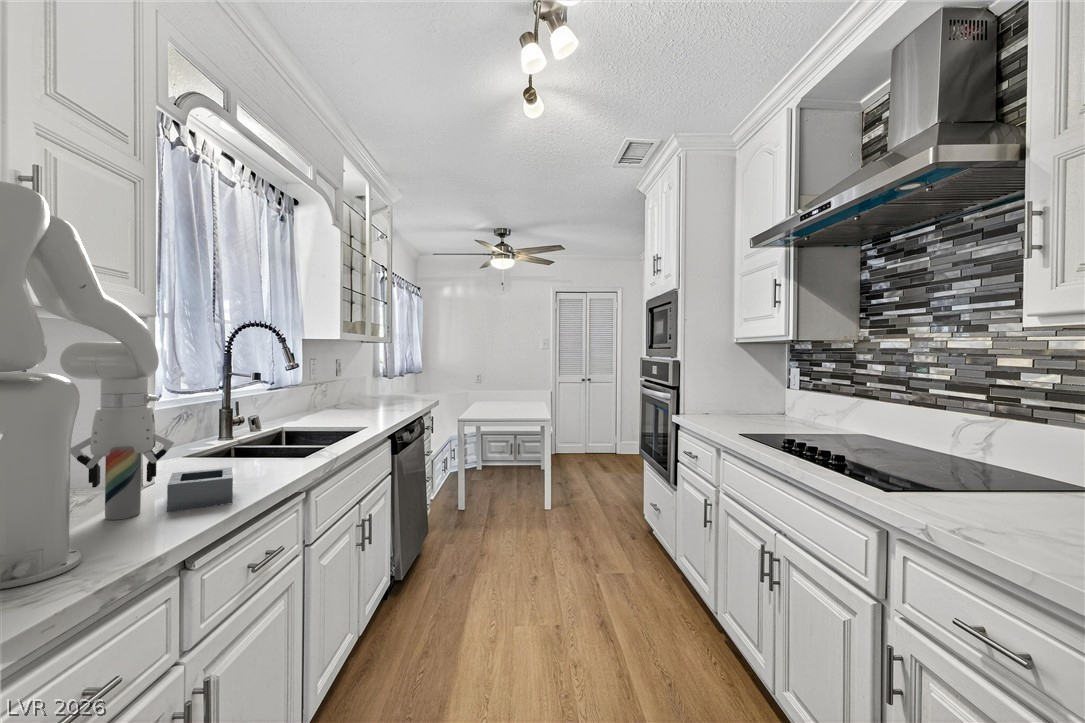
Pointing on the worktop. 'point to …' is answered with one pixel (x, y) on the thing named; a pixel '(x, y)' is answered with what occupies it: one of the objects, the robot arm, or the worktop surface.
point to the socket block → (199, 489)
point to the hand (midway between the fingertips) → (123, 482)
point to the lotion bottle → (122, 483)
